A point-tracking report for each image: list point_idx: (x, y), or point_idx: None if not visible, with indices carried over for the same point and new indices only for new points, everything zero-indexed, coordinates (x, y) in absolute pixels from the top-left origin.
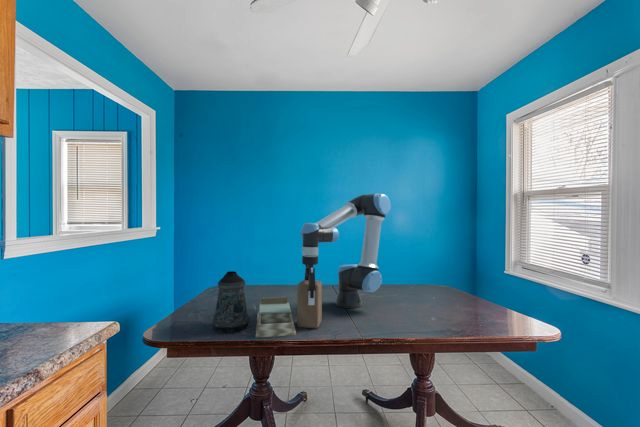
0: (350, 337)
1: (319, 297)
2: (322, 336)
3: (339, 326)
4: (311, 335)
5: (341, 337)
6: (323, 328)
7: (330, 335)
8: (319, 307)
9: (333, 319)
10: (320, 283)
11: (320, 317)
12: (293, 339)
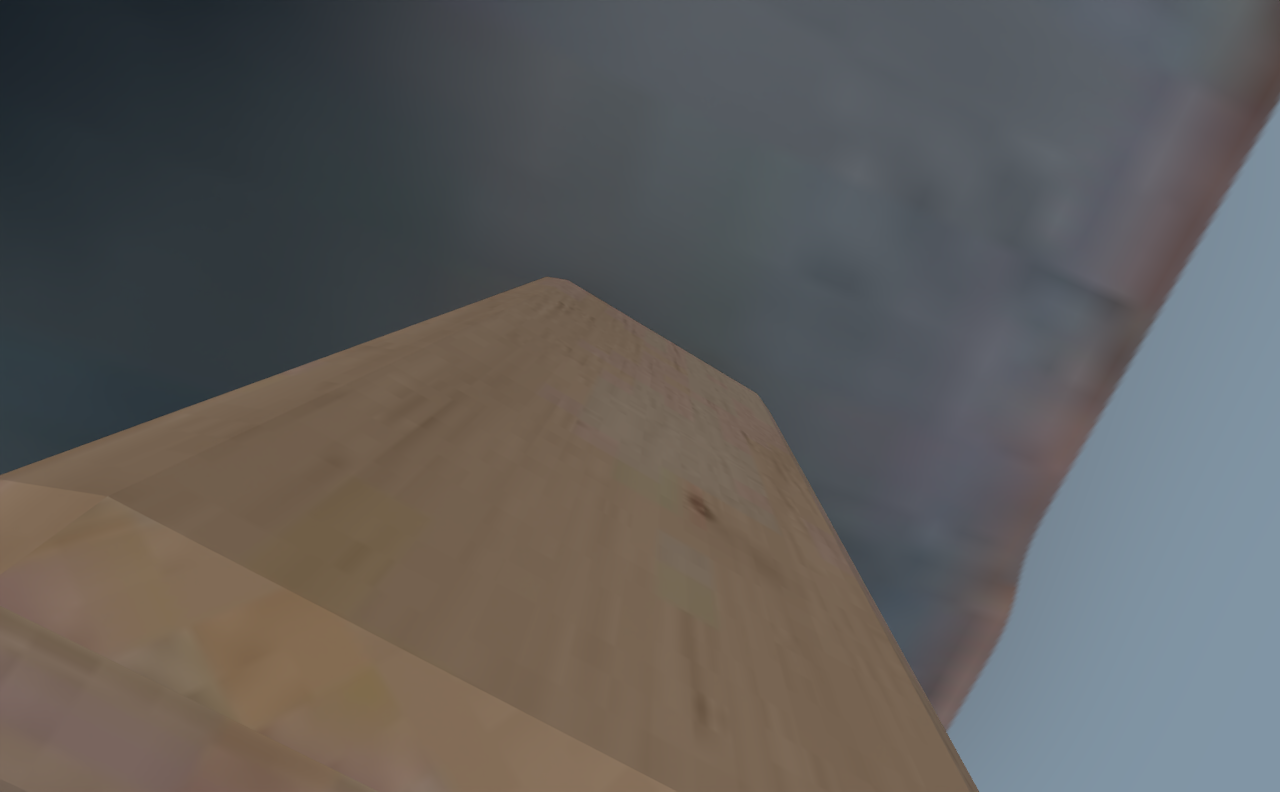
0: (1195, 110)
1: (750, 527)
2: (997, 422)
3: (779, 91)
4: (917, 519)
5: (1134, 224)
6: (770, 326)
7: (1013, 327)
8: (719, 430)
9: (483, 62)
10: (461, 761)
11: (636, 335)
12: (936, 694)
